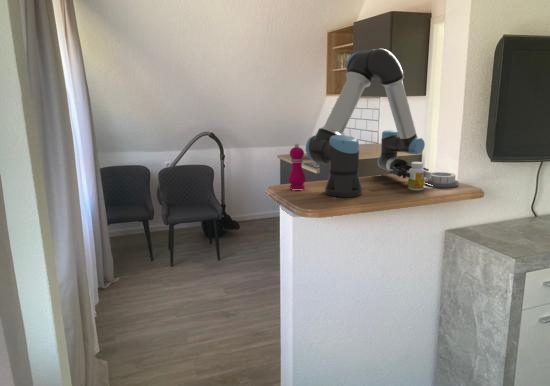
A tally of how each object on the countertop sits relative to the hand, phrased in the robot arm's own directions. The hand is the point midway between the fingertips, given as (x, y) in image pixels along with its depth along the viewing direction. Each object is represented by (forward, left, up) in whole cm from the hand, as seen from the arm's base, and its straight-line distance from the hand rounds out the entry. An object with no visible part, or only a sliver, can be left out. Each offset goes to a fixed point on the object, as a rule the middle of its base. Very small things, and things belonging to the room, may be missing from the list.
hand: (422, 176), depth 170 cm
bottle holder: (+10, +15, -7) cm, 19 cm away
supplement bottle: (-2, +5, -7) cm, 8 cm away
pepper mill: (-52, 0, -7) cm, 52 cm away
